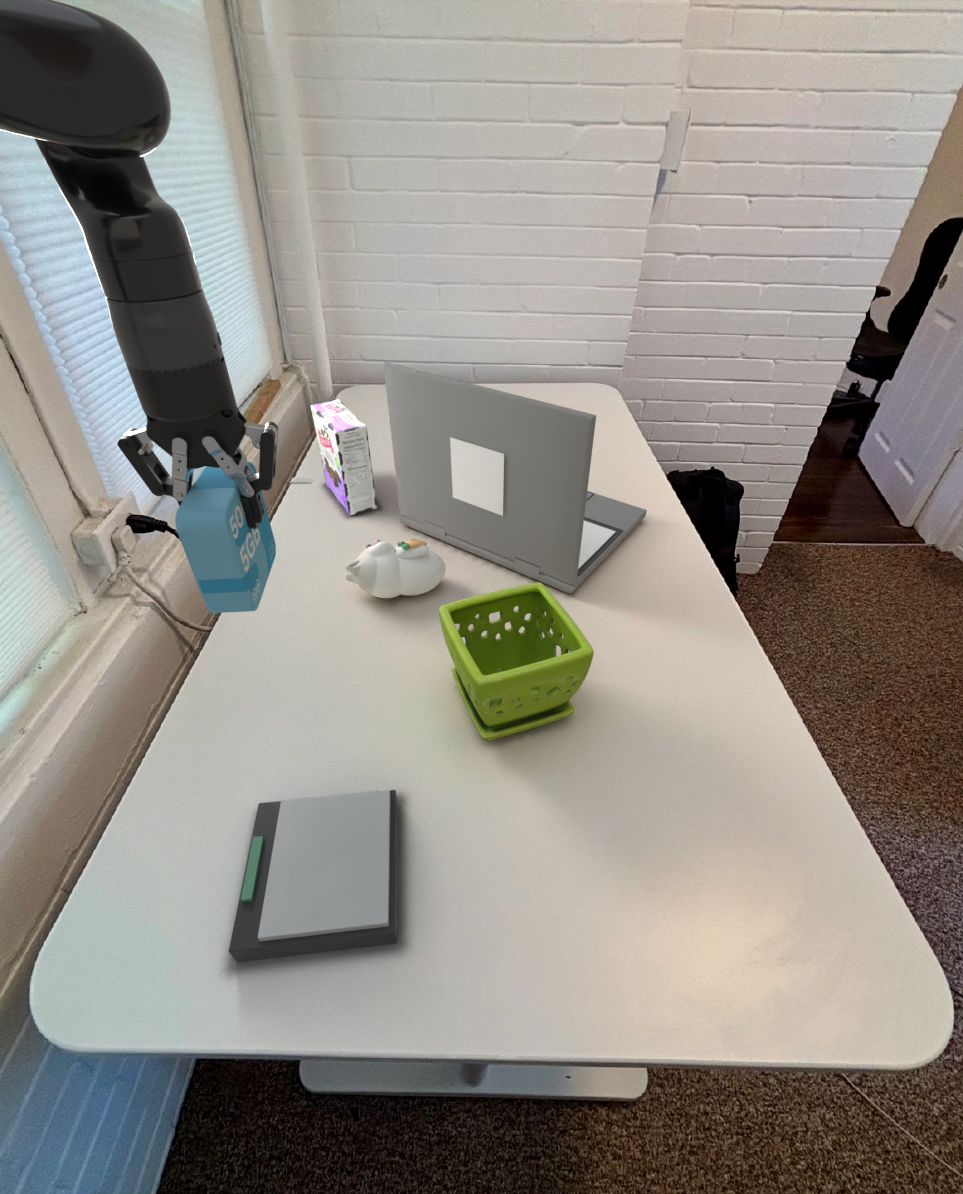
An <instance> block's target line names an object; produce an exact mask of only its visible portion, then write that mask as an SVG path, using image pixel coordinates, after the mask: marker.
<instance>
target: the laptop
mask: <svg viewBox="0 0 963 1194" xmlns="http://www.w3.org/2000/svg"><path fill="white" fill-rule="evenodd" d="M383 372H384V373H383V374H384V383H385V391H386V399H387V400H386V401H387V410H388V417H389V418H388V419H389V427H390V436H391V445H392V454H393V461H394V462H393V463H394V471H395V480H396V490H397V499H398V508H399V517H398V520H399V522H400V523H402V524H403V525H405V526H406V527H408V528H410V529H413V530H416V531H418V532H420V533H423V534H425V535H427V536H430V537H433V538H435V539H437V540H440V541H442V542H443V543H447V544H449V545H452V546H454V547H456V548H458V549H461V550H463V551H466V552H467V553H471V554H473V555H476V556H478V557H480V558H482V559H485V560H487V561H490V562H493V563H495V564H496V565H500V566H501V567H504V568H506V569H508V570H511V571H514V572H516V573H519V574H521V575H523V576H526V577H527V578H530V579H533V580H535V581H538V582H540V583H542V584H544V585H547V586H550V587H552V588H554V589H557V590H559V591H561V592H564V593H566V594H572V593H573V592H575V591H576V589H577V588H578V587H579V586H580V585H581V584H582V583H583V582H584V581H585V580H586V579H587V578H588V577H589V576H590V575H591V574H592V573H593V572H594V571H595V570H596V568H598V567H599V565H601V564H602V562H603V561H604V560H605V559H606V558H607V557H608V556H609V555H610V554H611V553H612V552H613V551H614V550H615V549H616V548H617V547H618V546H619V545H620V544H621V543H622V541H623V540H625V538H626V537H627V536H629V534H630V533H631V532H632V531H633V530H634V529H635V528H637V526H638V525H639V524H640V523H641V522H642V521H643V520H644V519H645V517H647V512H648V510H647V509H645V508H642V507H638V506H636V505H632V504H629V503H626V502H623V501H620V500H617V499H614V498H611V497H608V496H604V495H602V494H598V493H595V492H593V491H589V490H588V489H589V482H590V481H589V480H590V474H591V473H590V472H591V465H592V457H593V455H592V454H593V446H594V439H595V432H596V431H595V430H596V429H595V428H596V421H597V414H594V413H590V412H585V411H582V410H578V409H573V408H570V407H566V406H561V405H558V404H555V403H550V402H546V401H541V400H538V399H535V398H530V397H526V396H522V395H518V394H514V393H510V392H506V391H502V390H498V389H494V388H490V387H488V386H487V387H486V386H482V385H479V384H474V383H471V382H467V381H463V380H459V379H455V378H451V377H446V376H443V375H439V374H435V373H432V372H427V371H423V370H419V369H416V368H411V367H407V366H403V365H400V364H395V363H392V362H388V361H385V362H384V363H383Z"/></svg>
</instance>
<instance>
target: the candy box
mask: <svg viewBox="0 0 963 1194" xmlns="http://www.w3.org/2000/svg"><path fill="white" fill-rule="evenodd" d="M310 410H311V416H312V420H313V424H314V430H315V435H316V439H317V444H318V449H319V453H320V458H321V464H322V468H323V475H324V480H325V484H326V486H327V488H328V490H330V492H331V493H332V494H333V496H334V497H335V498H336V500H337V501H338V503H340V505H341V506H342V507H343V508H342V509H344V510H345V512H346V513H347V514H348V515H349V516H353V515H357V514H361V513H365V512H369V511H373V510H377V509H378V503H377V496H376V489H375V481H374V473H373V466H372V458H371V448H370V442H369V441H370V440H369V433H368V427H367V424H366V423H364V422H363V421H362V420H360V418H359V417H357V415H356V414H354V413H353V411H352V410H350V408H348V407H347V406H346V405H345V404H344V403H343V402H342V400H341V399H340V398H338V399H334V400H329V401H328V400H327V401H324V402H320V403H314V404H311V405H310Z"/></svg>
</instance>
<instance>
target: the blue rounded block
mask: <svg viewBox="0 0 963 1194" xmlns="http://www.w3.org/2000/svg"><path fill="white" fill-rule="evenodd" d="M248 464H249V466H250V467H251V469H252V470H253V472H254V473H255V474H256V473H258V472H257V469H256V466H255V465H254V463H253V462H251V461H248ZM259 492H260V496H261V500H262V504H263V507H264V516H263V519H262V523H259V526H258V528H257V529H250V528H249V525H248V522H247V518H246V515H245V512H244V508H243V505H242V501H241V496H242V493H241V492H240V490H239V489H238V487H237V486H236V485H235V483H234V482H233V480H231V479H229V478H228V477H227V476H226V474H225V473H224V472H223V470H222V469H221V467H219V468H214V467H208V466H204V467H203V469H202V470H201V472H200V473H199V474H198V476H197V478H196V480H195V481H194V482H193V486H192V488H191V489H190V491H189V492H188V494H187V496H186V497H185V499H184V500H183V502H182V503H181V505H180V507H179V506H178V508H177V510H176V512H175V519H174V520H175V528H176V532H177V535H178V537H179V540H180V543H181V545H182V548H183V551H184V553H185V556H186V559H187V561H188V564H189V567H190V569H191V572H192V574H193V577H194V579H195V581H196V584H197V587H198V590H199V592H200V594H201V598H202V600H203V603H204V605H205V608H206V610H207V611H208V612H209V613H211V614H223V613H225V614H226V613H243V612H245V613H246V612H255V611H257V610H258V608H259V606H260V603H261V600H262V598H263V594H264V591H265V588H266V586H267V582H268V579H269V576H270V573H271V570H272V568H273V565H274V562H275V559H276V553H277V548H276V547H277V545H276V539H275V537H274V533H273V529H272V525H271V521H270V517H269V513H268V510H267V505H266V501H265V499H264V494H263V490H261V491H259Z"/></svg>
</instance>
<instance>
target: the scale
mask: <svg viewBox="0 0 963 1194" xmlns="http://www.w3.org/2000/svg"><path fill="white" fill-rule="evenodd" d="M398 801H399V800H398V797H397V791H396V789H385V790H376V791H374V790H373V791H366V792H355V793H347V794H346V793H345V794H334V795H324V796H317V797H316V796H314V797H306V798H304V797H303V798H296V799H285V800H277V801H268V802H259V803H258V806H257V811H256V813H255V814H256V815H255V820H254V825H253V829H252V834H251V839H250V843H249V850H248V854H247V859H246V865H245V869H244V873H243V879H242V884H241V889H240V894H239V898H238V904H237V909H236V914H235V919H234V923H233V928H232V933H231V938H230V942H229V947H228V953H229V954H230V956H231V957H232V958H233V959H234V962H236V963H243V962H249V961H258V960H266V959H275V958H283V957H291V956H301V955H308V954H316V953H324V952H325V953H326V952H333V951H341V950H342V951H343V950H350V949H357V948H358V949H359V948H367V947H374V946H384V945H390V944H397V943H398V886H399V883H398V881H399V880H398V879H399V878H398V875H399V874H398V873H399V872H398V871H399V870H398V865H399V863H398V862H399V861H398V860H399V859H398V858H399V857H398V854H399V853H398V852H399V851H398V850H399V849H398V846H399V844H398V843H399V841H398V837H399V832H398V831H399V830H398V829H399V828H398V827H399V824H398V821H399V820H398V819H399V818H398V817H399V816H398V815H399V811H398V810H399V807H398V803H399V802H398Z"/></svg>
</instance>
